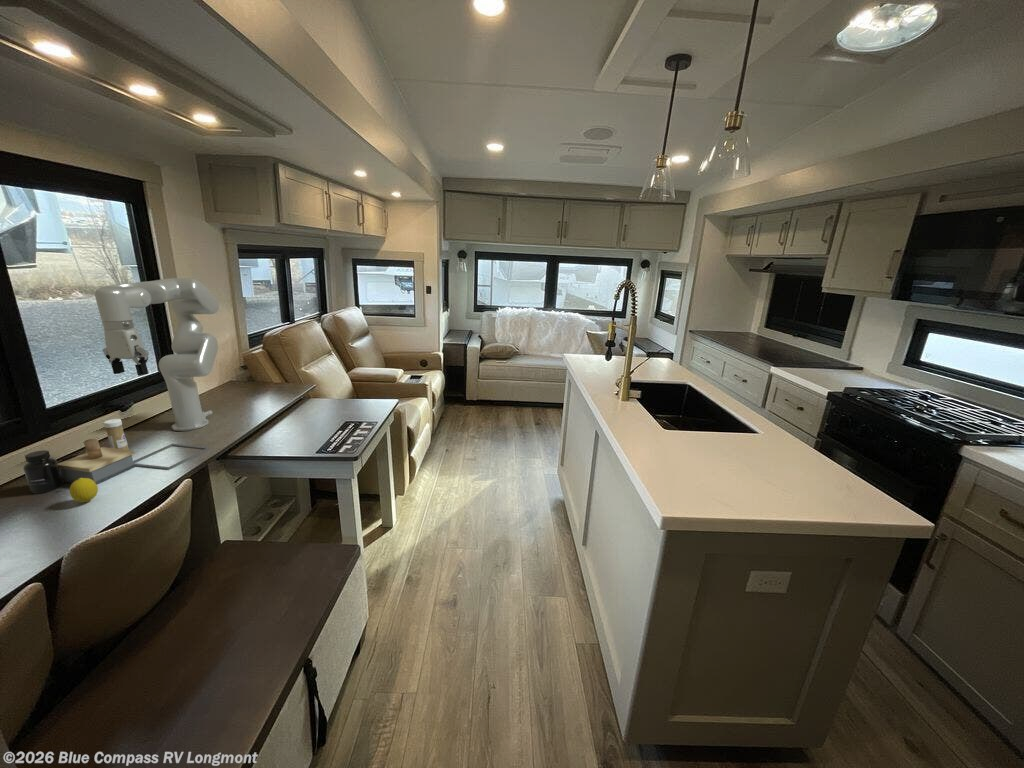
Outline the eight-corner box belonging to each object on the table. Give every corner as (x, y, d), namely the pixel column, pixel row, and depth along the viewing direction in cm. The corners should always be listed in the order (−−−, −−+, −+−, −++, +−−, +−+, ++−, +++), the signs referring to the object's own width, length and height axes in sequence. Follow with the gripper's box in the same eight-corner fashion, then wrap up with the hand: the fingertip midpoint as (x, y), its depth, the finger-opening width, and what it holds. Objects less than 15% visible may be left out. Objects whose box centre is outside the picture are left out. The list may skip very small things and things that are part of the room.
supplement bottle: (34, 496, 120) (21, 460, 117) (29, 489, 124) (16, 454, 120) (67, 486, 126) (55, 452, 122) (61, 480, 129) (49, 446, 126)
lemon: (86, 497, 121) (78, 473, 118) (106, 496, 121) (98, 473, 119) (68, 507, 115) (60, 483, 113) (89, 507, 116) (81, 482, 113)
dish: (105, 464, 140) (101, 451, 138) (134, 467, 138) (131, 454, 137) (63, 481, 128) (59, 467, 127) (95, 485, 127) (91, 471, 125)
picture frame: (172, 444, 155) (172, 443, 155) (211, 448, 153) (211, 447, 153) (126, 465, 139) (126, 464, 139) (168, 469, 137) (168, 468, 137)
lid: (102, 450, 139) (97, 431, 137) (134, 453, 137) (128, 434, 135) (56, 467, 127) (49, 447, 125) (89, 472, 125) (83, 451, 123)
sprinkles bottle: (128, 455, 146) (119, 421, 142) (111, 458, 144) (101, 424, 140) (131, 450, 150) (122, 417, 146) (114, 453, 147) (105, 419, 143)
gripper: (151, 325, 138) (163, 372, 143) (109, 323, 140) (121, 369, 145) (128, 328, 131) (141, 378, 136) (84, 326, 133) (98, 375, 138)
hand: (131, 373), depth 141 cm, fingers open, 9 cm apart
